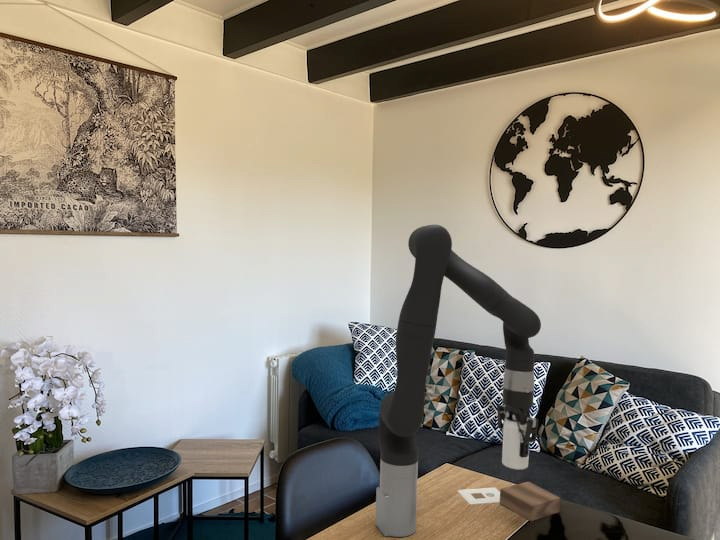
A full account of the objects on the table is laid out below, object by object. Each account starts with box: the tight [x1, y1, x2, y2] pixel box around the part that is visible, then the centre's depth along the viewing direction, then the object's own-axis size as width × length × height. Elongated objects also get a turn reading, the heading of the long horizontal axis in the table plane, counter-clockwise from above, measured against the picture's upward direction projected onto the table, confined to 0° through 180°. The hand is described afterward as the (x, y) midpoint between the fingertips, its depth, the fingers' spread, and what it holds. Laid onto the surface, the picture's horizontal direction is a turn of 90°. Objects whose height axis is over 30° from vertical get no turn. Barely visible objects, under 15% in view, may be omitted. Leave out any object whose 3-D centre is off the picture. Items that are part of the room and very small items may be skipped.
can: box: [501, 417, 530, 471], centre depth 139 cm, size 6×6×12 cm
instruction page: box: [456, 486, 500, 506], centre depth 154 cm, size 12×9×1 cm
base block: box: [499, 481, 561, 522], centre depth 147 cm, size 11×11×4 cm
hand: (515, 451), depth 139 cm, fingers closed on can, 6 cm apart
